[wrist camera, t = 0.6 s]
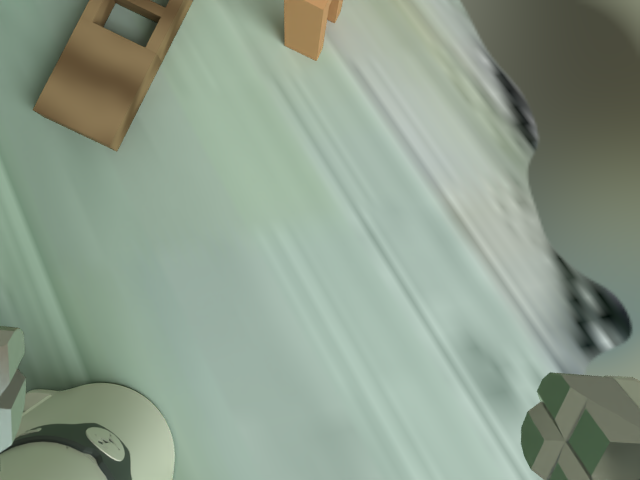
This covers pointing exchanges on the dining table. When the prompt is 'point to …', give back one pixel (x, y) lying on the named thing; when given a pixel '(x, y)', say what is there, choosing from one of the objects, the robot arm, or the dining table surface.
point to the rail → (107, 71)
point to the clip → (308, 24)
